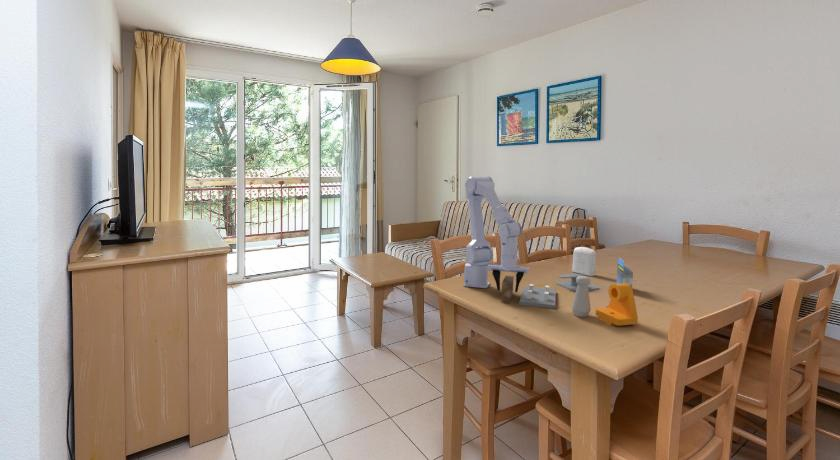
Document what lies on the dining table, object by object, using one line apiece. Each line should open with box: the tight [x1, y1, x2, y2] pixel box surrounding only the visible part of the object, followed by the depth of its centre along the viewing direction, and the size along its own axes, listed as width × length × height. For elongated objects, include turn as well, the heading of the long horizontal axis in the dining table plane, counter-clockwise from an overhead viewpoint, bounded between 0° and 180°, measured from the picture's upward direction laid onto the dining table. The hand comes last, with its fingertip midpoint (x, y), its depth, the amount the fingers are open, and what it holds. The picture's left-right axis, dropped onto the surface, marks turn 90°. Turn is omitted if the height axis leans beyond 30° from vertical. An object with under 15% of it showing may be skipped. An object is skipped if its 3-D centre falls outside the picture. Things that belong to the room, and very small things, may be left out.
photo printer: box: [571, 246, 597, 277], centre depth 192 cm, size 10×4×12 cm, turn 36°
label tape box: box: [616, 257, 634, 288], centre depth 167 cm, size 9×4×12 cm, turn 168°
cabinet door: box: [500, 275, 514, 304], centre depth 155 cm, size 4×12×7 cm, turn 162°
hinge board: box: [519, 283, 557, 309], centre depth 155 cm, size 12×20×4 cm, turn 162°
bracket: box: [595, 283, 639, 326], centre depth 132 cm, size 11×7×12 cm, turn 15°
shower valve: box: [555, 273, 600, 293], centre depth 171 cm, size 12×6×15 cm
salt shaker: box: [571, 275, 591, 318], centre depth 137 cm, size 6×6×13 cm
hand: (507, 290), depth 155 cm, fingers open, 6 cm apart
